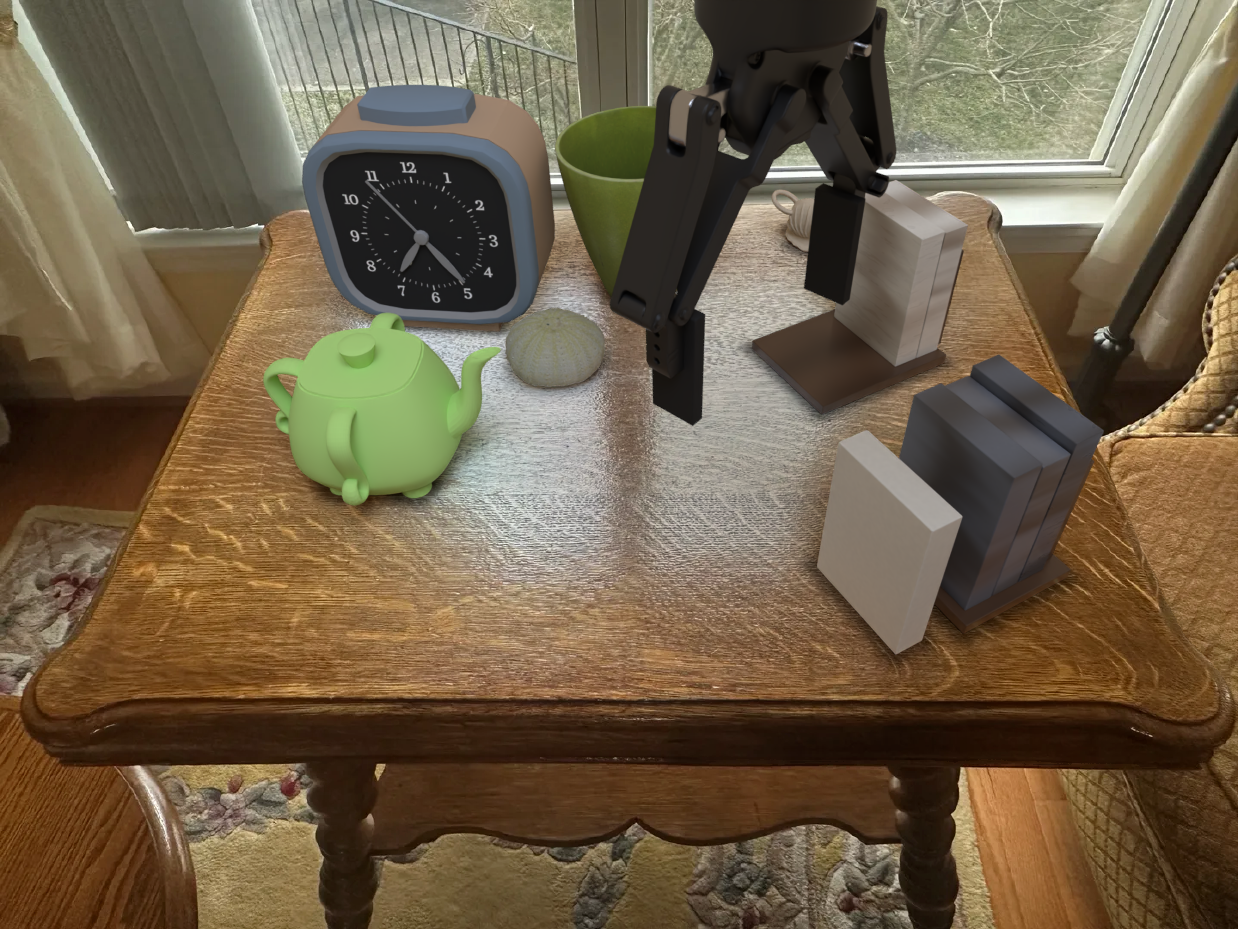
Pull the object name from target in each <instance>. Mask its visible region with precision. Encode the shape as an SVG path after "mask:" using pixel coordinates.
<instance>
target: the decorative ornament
mask: <svg viewBox="0 0 1238 929" xmlns="http://www.w3.org/2000/svg"><path fill="white" fill-rule="evenodd" d="M779 195H781V196H785V197H787V198H788V199H789V200H791V201H792V203H793V205H792V207H791V209H790V208H787V207H785V206H783V205H782V204H780V202H779V201H778V199H777V196H779ZM770 198H771V202H772V204H773V206H774V207H775V208H776V209H777V210H778V211H779V212H780V213H782V214H784V215H787V216H788V220H787V222H786V225H787V228H786V229H785V233H784V235H785V236H784V237H786V238H787V241H788V242H790V243H791V244H792V245H793V247H796V248H797V249H799V250H800V251H801V252H804V253H808V248H809V239H810V231H811V222H812V214H813V205H814V197H813V198H812V197H811V198H810V197H805V198H802V199H799V198H798V197H797V196H796V195H795V194H794V193H793V192H791V191H789V190H785V189H776V190H774V191H773V192H772V194H771V197H770Z"/></svg>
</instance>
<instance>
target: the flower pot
mask: <svg viewBox="0 0 1238 929" xmlns="http://www.w3.org/2000/svg"><path fill="white" fill-rule="evenodd" d="M655 117H656V106H654V105H633V106H623V107H615V108H612V109H605V110H602V111H598V112H594V113H592V114H588V115H586V116H583V117H581V118H578V119H576V120H575V121H573V122H572V123H570V124H569V125H567V126H566V127H565V128H564V129H563V130H562V131H561V132H560V133H559V134H558V136H557V138H556V140H555V143H554V153H555V157H556V160H557V165H558V169H559V173H560V178H561V180H562V184H563V188H564V191H565V194H566V198H567V201H568V205H569V207H570V210H571V214H572V216H573V219H574V222H575V224H576V227H577V230H578V233H579V235H580V238H581V240H582V242H583V245H584V247H585V249H586V252H587V254H588V257H589V259H590V261H591V263H592V266H593V267H594V269H595V271H596V274H597V276H598V278H599V279H600V281H601V283H602V285H603V287H604V289H605V291H606V292H607V294H608V295H609V297H610V298H611V296H612V292H613V289H614V285H615V282H616V278H617V274H618V271H619V267H620V264H621V260H622V257H623V253H624V249H625V246H626V242H627V239H628V235H629V231H630V228H631V224H632V221H633V217H634V214H635V210H636V206H637V203H638V199H639V196H640V192H641V188H642V185H643V181H644V178H645V174H646V171H647V167H648V163H649V160H650V156H651V153H652V149H653V145H654V133H655ZM676 291H677V289H676Z"/></svg>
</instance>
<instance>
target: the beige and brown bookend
mask: <svg viewBox="0 0 1238 929" xmlns="http://www.w3.org/2000/svg"><path fill="white" fill-rule="evenodd" d="M865 198H866V200H865V206H864V213H863V219H862V225H861V232H860V238H859V244H858V250H857V257H856V263H855V269H854V275H853V282H852V288H851V294H850V300H849V301H847V302H846V303H845V304H844V305H840V304H838V303H836V302H835V307H834V309H831V310H828V311H826V312H823V313H821V314H818V315H816V316H813V317H810V318H807V319H805V320H802V321H800V322H797V323H795V324H791V325H789V326H786V327H784V328H781V329H778V330H776V331H773V332H771V333H768V334H766V335H763V336H760V337H758V338H755V339H752V340H751V350H752V351H754V353H755V354H756V355H758V356H759V357H760V358H761V359H762V360H763V361H764V362H765V363H766V364H767V365H768V366H769V367H771V368H772V369H773V371H774V372H776V373H777V374H778V375H779V376H780V377H781V378H782V379H783V380H784V381H785V382H787V384H789V385H790V386H791V387H792V388H793V389H794V390H795V391H796V392H797V393H798V394H800V396H802V397H803V398H804V400H806V401H807V403H809V404H810V405H811V406H812V407H813V408H814V409H815V410H816V411H817V412H818V413H820V415H825V414H827V413H829V412H831V411H834V410H836V409H839V408H841V407H843V406H845V405H848V404H850V403H852V402H855V401H857V400H860V399H862V398H865V397H867V396H870V395H872V394H874V393H877V392H879V391H881V390H884V389H886V388H889V387H891V386H893V385H896V384H898V383H900V382H903V381H905V380H907V379H909V378H912V377H914V376H916V375H919V374H922V373H924V372H926V371H929V370H931V369H934V368H936V367H938V366H941V365H943V364H944V363H945V362H946V358H947V354H946V353H945V352H944V351H943V350H941V349H940V348H938V346H939V345H941V344H942V339H943V335H944V331H945V327H946V324H947V323H946V322H947V319H948V315H949V312H950V309H951V305H952V304H951V303H952V299H953V296H954V291H955V288H956V284H957V280H958V276H959V273H960V268H961V264H962V260H963V256H964V253H965V250H964V249H963V247H964V242H965V238H966V235H967V231H968V227H969V224H967V223H966V222H964V221H963V220H961V219H959V218H958V217H956V216H955V215H953V214H951V213H950V212H948V211H946V210H945V209H944V208H942V207H941V206H940V205H937V204H935V203H934V202H933V201H930V200H929V199H927V198H926V197H924V196H922V195H921V194H919V193H918V192H916V191H915V190H913V189H912V188H910V187H908V186H907V185H905V184H904V183H902V182H900V181H899V180H897V179H895V180H891V181H889V184H888V187H887V190H886V192H885V193H884V194H883V196H881V197H879V198H878V197H876V196H873V195H870V194H867V193H866V194H865Z"/></svg>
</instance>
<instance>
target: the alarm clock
mask: <svg viewBox="0 0 1238 929" xmlns="http://www.w3.org/2000/svg"><path fill="white" fill-rule="evenodd" d="M548 154H549V153H548V148H547V144H546V141H545V138H544V135H543V133H542V131H541V129H540V127H539V124H538V123H537V122H536V121H535V120H534V118H533V117H532V115H531V114H530V113H529V112H528V111H527V110H525V108H522V107H521V106H519V105H518V104H517V103H515V102H513V101H512V100H510V99H506V98H501V97H495V96H491V95H485V94H479V93H475V92H474V91H473V90H472V89H468V88H463V87H456V86H450V85H449V86H448V85H440V84H439V85H437V84H436V85H435V84H394V85H393V84H391V85H382V86H372V87H371V86H370V87H369V88H368V90H367V91H366V92H365V94H362V95H357V96H356V97H354V98H353V99H352V100H351V101H349V102H348V103H346V104H345V105H344V106H343V108H342V109H341V110H340V111H339V113H338V114H337V115H336V117H334V119H333V120H332V121H331V123H330V124H329V125H328V127H327V128H326V129H325V131H323V133H322V134H321V135H320V137H319V138H318V139H317V140H316V141H315V143H314V144H313V145H312V146H311V148H310V149H309V151H308V153H307V155H306V156H305V158H304V161H303V163H302V172H301V174H302V175H301V184H302V190H303V195H304V199H305V202H306V206H307V209H308V213H309V215H310V219H311V222H312V226H313V230H314V232H315V236H316V239H317V242H318V246H319V249H320V253H321V256H322V259H323V262H324V265H325V269H326V270H327V273H328V276H329V278H330V280H331V282H332V283H333V285H334V286H335V288H336V289H337V291H338V292H339V294H340V295H341V296H342V297H343V298H344V299H345V300H346V301H347V302H348V303H349V304H350V305H352V306H353V307H355V308H357V309H359V310H361V311H363V312H364V313H366V314H368V315H373V316H377V315H379V314H381V313H393V314H397V315H398V316H400V317H401V319H402V320H403V323H404V327H417V328H430V329H449V330H464V331H465V330H466V331H467V330H468V331H485V332H501V329H502V326H503V324H504V323H510V322H512V321H514V320H516V319H518V318H520V317H521V316H523V315H525V314H526V312H527V311H528V310H529V309H530V307H531V306H532V305H533V303H534V301H535V299H536V295H537V292H538V290H539V287H540V283H541V281H542V278H543V275H544V273H545V271H546V267H547V264H548V261H549V258H550V255H551V253H552V250H553V246H554V243H555V239H556V237H555V236H556V224H555V213H554V212H555V211H554V202H553V192H552V182H551V181H552V180H551V172H550V171H551V170H550V160H549V155H548Z"/></svg>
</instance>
